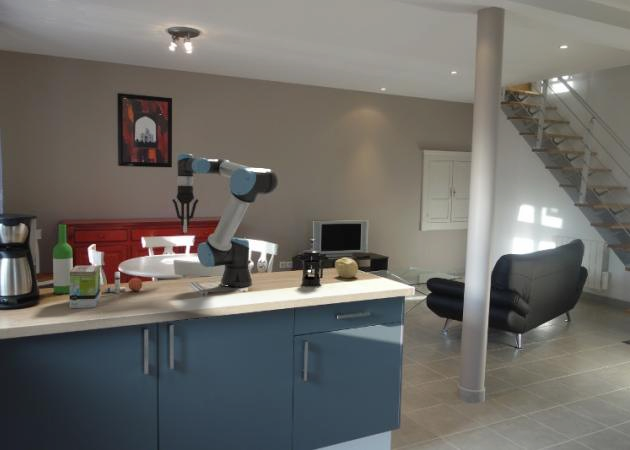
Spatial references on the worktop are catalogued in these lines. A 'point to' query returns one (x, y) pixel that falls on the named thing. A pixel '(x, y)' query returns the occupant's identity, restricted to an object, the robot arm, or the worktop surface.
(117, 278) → the pin
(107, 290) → the front pin
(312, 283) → the french press
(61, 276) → the wine bottle
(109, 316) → the worktop surface
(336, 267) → the sculpture
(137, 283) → the ball
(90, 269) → the tea box
